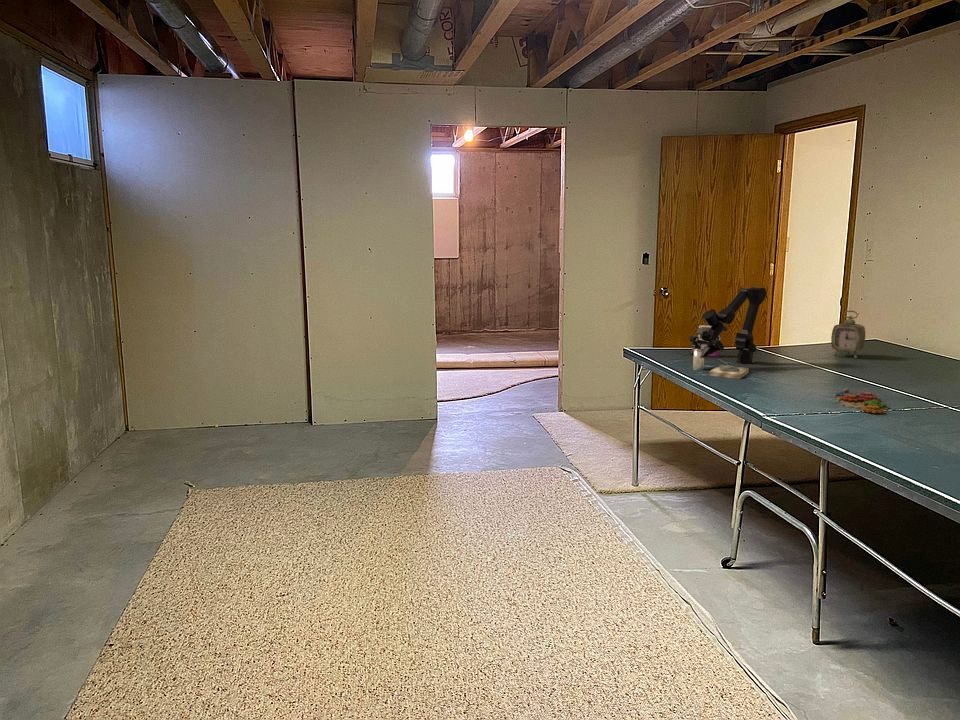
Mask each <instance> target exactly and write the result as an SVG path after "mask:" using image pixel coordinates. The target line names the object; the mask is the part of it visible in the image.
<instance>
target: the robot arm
mask: <svg viewBox="0 0 960 720" xmlns="http://www.w3.org/2000/svg"><path fill="white" fill-rule="evenodd" d="M766 296H767V290H766V288H765V287H758V286H752V287H750V288H749V287H743V288H741V289H739V292H738V293H737V295H736V296H735V297H734V298H733V299H732V300H731V302H730V303H729V304H728V305H727V306H726V307H724V308H722V309H721V310H719V311H718V312H716V310H715V308H710V309H709V310H707V311H705V312H703V314H702V315H701V317H702V319H703V321H705V323H706V325H707V326H711V327H710V328H707V329H705V328H699V326H698V327H697V330H696V332H695V333H696V335H690V336H689V337H688V340H689V342H690V343H691V344H692V349H691V351H690V352H691V353H690V356H691V357H692V356H693V354H694V349H695V348H701V347H700V346H701V345H702V344H704V345H708V346H707V348H706V350H705V351H704V353H703V355H702V358H704V359H705V358H706V357H709V356H708V355H710V354H712V353H714V352H718V351H720V352H723V350H724V349H725V345H724V344H723V343H722V341H721V340H719V335H720V334H721V335H722V333H723V332H727V331H728V330H727V329H728V328H727V325H731V324H732V322H733V321H734V320H735V318H736V313H737V312H738V310H739V309H740V308H741V307H742V305H743V304H745V302H746V301H748V303H749V304H748V307H747V311H746V313H745V317H744V322H743V325H742V329H741V330H740V332H736V334H735V338H734V345H735V349H736V351H738V354H737V360H736V362H737V363H739V364H744V365H746V364H755V362H754V361H753V359H754V353H755V352H757V346H756V345H755V343H754V334H753V331H754V327H755V322H756V319H757V316H758V312H759V309H760V305H761V304H762V303H763V302H764V301H765V299H766ZM725 324H727V325H725ZM698 334H699V335H701V336H700V337H701V338H702V340H700V339H699V338H698ZM716 339H717V340H716Z"/></svg>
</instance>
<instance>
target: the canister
mask: <svg viewBox="0 0 960 720" xmlns="http://www.w3.org/2000/svg"><path fill="white" fill-rule="evenodd" d="M703 353H704V349H702V348H695V349H694V354H693V357H692V361H693V362H692V370H694V371H703V370H704V367H705V366H704V365H705V363H704V362H705V357H704V358H702V355H703Z"/></svg>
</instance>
